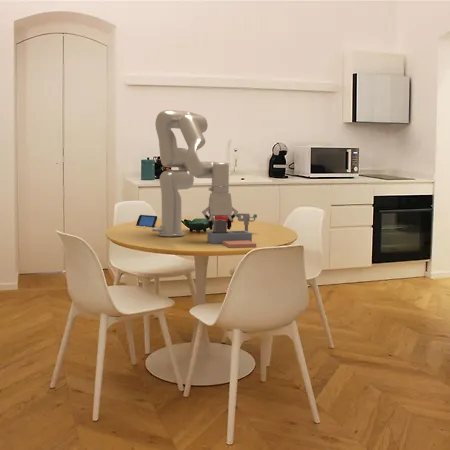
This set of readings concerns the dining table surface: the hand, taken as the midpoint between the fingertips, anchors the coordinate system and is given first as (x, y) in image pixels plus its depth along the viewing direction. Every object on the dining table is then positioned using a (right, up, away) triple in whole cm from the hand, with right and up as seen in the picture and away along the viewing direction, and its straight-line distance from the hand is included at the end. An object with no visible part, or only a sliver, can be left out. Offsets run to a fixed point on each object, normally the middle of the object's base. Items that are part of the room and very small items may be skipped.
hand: (219, 229), depth 292 cm
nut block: (0, -6, +1) cm, 6 cm away
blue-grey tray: (+4, -6, +2) cm, 7 cm away
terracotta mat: (+8, -7, -10) cm, 15 cm away
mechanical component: (+13, -3, +35) cm, 37 cm away
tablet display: (-41, -1, +52) cm, 66 cm away
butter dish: (+1, +2, +77) cm, 77 cm away
